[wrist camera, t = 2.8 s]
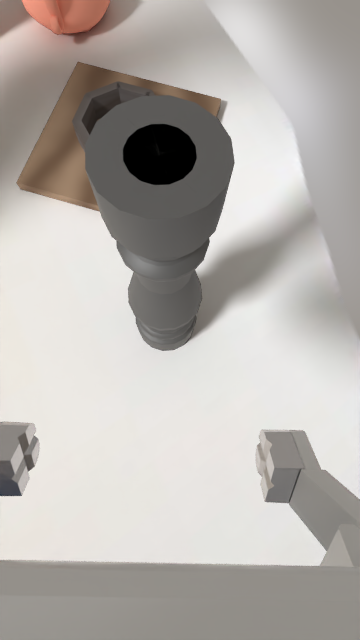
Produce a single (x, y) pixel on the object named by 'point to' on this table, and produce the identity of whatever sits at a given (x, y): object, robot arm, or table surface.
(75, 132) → the candle dish
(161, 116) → the candle holder
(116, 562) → the robot arm
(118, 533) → the table surface
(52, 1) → the sugar bowl
